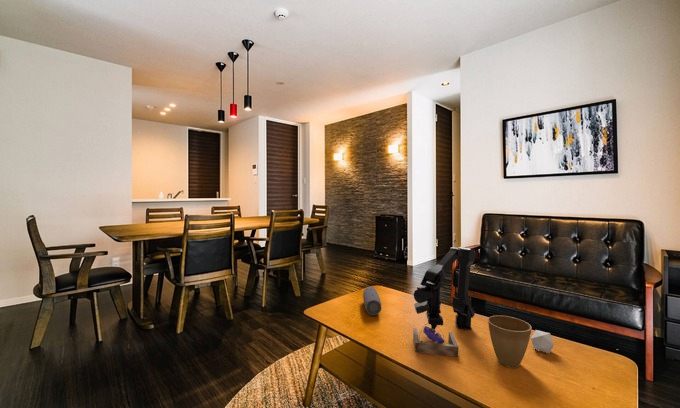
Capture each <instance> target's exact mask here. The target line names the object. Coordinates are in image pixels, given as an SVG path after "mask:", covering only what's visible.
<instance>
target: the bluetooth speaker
mask: <svg viewBox="0 0 680 408" xmlns="http://www.w3.org/2000/svg"><path fill="white" fill-rule="evenodd" d="M362 297H363V298H362V299H363V304H364V305H363V306H364V307H365V310H366V312H367V313H368V314H369V315H371V316H376V315H378V314H380V313H381V312H382V302H381V301H382V300H381V297H380V296H379V293H378V290H376V288H374V287H373V286H367V287H366V288H365V289H364V290H363V292H362Z"/></svg>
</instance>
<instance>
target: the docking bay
mask: <svg viewBox="0 0 680 408" xmlns="http://www.w3.org/2000/svg"><path fill="white" fill-rule="evenodd" d="M412 331H413V333H412V335H413V336H412V338H413V344H414V353H421V354H428V355H429V354H431V355H439V356H447V357H456V358H459V345H458V342H457V340H456V338H455V335H454V333H453V331H448V343H449V344H448V343H443V344H440V343H435V342H431V341H423V342H421V341H422V340H421V341H420V337H419V333H418V328H413V329H412ZM430 342H431V343H430Z"/></svg>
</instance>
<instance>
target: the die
mask: <svg viewBox="0 0 680 408" xmlns="http://www.w3.org/2000/svg"><path fill="white" fill-rule="evenodd" d="M531 335H532V336H530V341H531V344H532V346H533V349H536V350H535V351H537V350H539V351H538V352H540V351H543V352H542V353H544V352H546V353H545V354H548V353H549V354H550V352H551V351H552V349H553V348H554V346H555V343H554V341H553V338H552V337H553V336H551V333H550V332H545V331H542V330H539V329H538V330H537V329H535V330H534V332H533V334H531Z"/></svg>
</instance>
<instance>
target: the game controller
mask: <svg viewBox="0 0 680 408" xmlns="http://www.w3.org/2000/svg"><path fill="white" fill-rule="evenodd" d="M427 325H429V324H428V322H427V323H426V324H424V326H423V327H422V328H423V330H422V331H420V332H419V334H418V338H420V335H421V333H423V334H425V336H426V337H427V338H428V340H429V342H430V343H440V344H445V339H444V335H442V334H441V333H440V332H437V330H436V329H435V330H434V329H432V328H431V327H429V326H427ZM436 326H437V327H438V325H436ZM439 329H440V328H439ZM440 331H442V329H440ZM442 336H443V337H442ZM421 342H424V340H421Z"/></svg>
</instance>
